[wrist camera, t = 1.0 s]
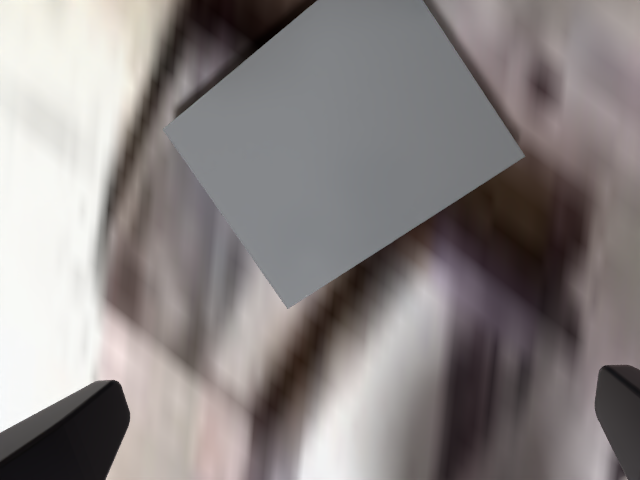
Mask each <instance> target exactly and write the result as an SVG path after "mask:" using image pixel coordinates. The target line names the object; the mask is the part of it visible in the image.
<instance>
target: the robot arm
mask: <svg viewBox="0 0 640 480" xmlns="http://www.w3.org/2000/svg"><path fill="white" fill-rule="evenodd" d="M595 411H596V415H597V418H598V420H599V422H600V424H601V426H602V428H603V430H604V432H605V434H606V437H607V439H608V441H609V443H610V445H611V447H612V449H613V451H614V453H615V455H616V457H617V459H618V461H619V463H620V465H621V467H622V469H623V471H624V473H625V475H626V477H627V479H628V480H640V370H639V369H637V368H635V367H633V366H630V365H606V366H603V367H602V368H601V369H600V371H599V374H598V382H597V390H596V397H595ZM129 422H130V411H129V408H128V405H127V402H126V399H125V396H124V393H123V390H122V387H121V384H120V383H119V382H118V381H115V380H104V381H96V382H94V383H92V384H90V385H88V386H86V387H84V388H82V389H81V390H79V391H77V392H75V393H73V394H71V395H69V396H68V397H66V398H64V399H62V400H60V401H58V402H56V403H55V404H53V405H51V406H49V407H47V408H45V409H44V410H42V411H40V412H38V413H36V414H34V415H32V416H31V417H29V418H27V419H25V420H23V421H21V422H19V423H18V424H16V425H14V426H12V427H10V428H8V429H6V430H5V431H3V432H1V433H0V480H106V477H107V475H108V473H109V470H110V468H111V466H112V463H113V461H114V459H115V456H116V454H117V452H118V449H119V447H120V445H121V442H122V440H123V438H124V435H125V433H126V431H127V428H128V426H129Z"/></svg>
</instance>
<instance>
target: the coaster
mask: <svg viewBox="0 0 640 480" xmlns="http://www.w3.org/2000/svg"><path fill="white" fill-rule="evenodd" d="M163 131H164V132H165V133H166V135H167V136H168V138H169V139H170V141H171V142H172V143H173V145H174V146H175V148H176V149H177V151H178V152H179V154H180V155H181V156H182V158H183V159H184V161H185V162H186V164H187V165H188V166H189V168H190V169H191V171H192V172H193V174H194V175H195V177H196V178H197V179H198V181H199V182H200V184H201V185H202V187H203V188H204V189H205V191H206V192H207V194H208V195H209V197H210V198H211V200H212V201H213V202H214V204H215V205H216V207H217V208H218V210H219V211H220V212H221V214H222V215H223V217H224V218H225V220H226V221H227V223H228V224H229V225H230V227H231V228H232V230H233V231H234V233H235V234H236V235H237V237H238V238H239V240H240V241H241V243H242V244H243V246H244V247H245V248H246V250H247V251H248V253H249V254H250V256H251V257H252V258H253V260H254V261H255V263H256V264H257V266H258V267H259V269H260V270H261V271H262V273H263V274H264V276H265V277H266V279H267V280H268V281H269V283H270V284H271V286H272V287H273V289H274V290H275V292H276V293H277V294H278V296H279V297H280V299H281V300H282V302H283V303H284V304H285V306H286V307H287V309H288V308H290V307H292V306H293V305H295V304H296V303H298V302H299V301H301V300H302V299H304V298H306V297H307V296H309V295H310V294H312V293H313V292H315V291H316V290H318V289H320V288H321V287H323V286H324V285H326V284H327V283H329V282H330V281H332V280H334V279H335V278H337V277H338V276H340V275H341V274H343V273H344V272H346V271H348V270H349V269H351V268H352V267H354V266H355V265H357V264H359V263H360V262H362V261H363V260H365V259H366V258H368V257H369V256H371V255H373V254H374V253H376V252H377V251H379V250H380V249H382V248H383V247H385V246H387V245H388V244H390V243H391V242H393V241H394V240H396V239H397V238H399V237H401V236H402V235H404V234H405V233H407V232H408V231H410V230H411V229H413V228H415V227H416V226H418V225H419V224H421V223H422V222H424V221H425V220H427V219H429V218H430V217H432V216H433V215H435V214H436V213H438V212H439V211H441V210H443V209H444V208H446V207H447V206H449V205H450V204H452V203H454V202H455V201H457V200H458V199H460V198H461V197H463V196H464V195H466V194H468V193H469V192H471V191H472V190H474V189H475V188H477V187H478V186H480V185H482V184H483V183H485V182H486V181H488V180H489V179H491V178H492V177H494V176H496V175H497V174H499V173H500V172H502V171H503V170H505V169H506V168H508V167H510V166H511V165H513V164H514V163H516V162H517V161H519V160H520V159H522V158H524V157H525V155H524V154H523V152H522V151H521V149H520V148H519V146H518V144H517V143H516V141H515V140H514V138H513V137H512V135H511V134H510V132H509V131H508V129H507V128H506V126H505V125H504V123H503V122H502V120H501V119H500V117H499V116H498V114H497V112H496V111H495V109H494V108H493V106H492V105H491V103H490V102H489V100H488V99H487V97H486V96H485V94H484V93H483V91H482V90H481V88H480V87H479V85H478V84H477V82H476V80H475V79H474V77H473V76H472V74H471V73H470V71H469V70H468V68H467V67H466V65H465V64H464V62H463V61H462V59H461V58H460V56H459V55H458V53H457V52H456V50H455V48H454V47H453V45H452V44H451V42H450V41H449V39H448V38H447V36H446V35H445V33H444V32H443V30H442V29H441V27H440V26H439V24H438V23H437V21H436V20H435V18H434V16H433V15H432V13H431V12H430V10H429V9H428V7H427V6H426V4H425V3H424V1H423V0H317V1H316V2H315V3H314V4H312V5H311V6H310V7H309V8H308V9H306V10H305V11H304V12H303V13H302V14H300V15H299V16H298V17H297V18H296V19H294V20H293V21H292V22H291V23H290V24H288V25H287V26H286V27H285V28H284V29H282V30H281V31H280V32H279V33H278V34H276V35H275V36H274V37H273V38H272V39H270V40H269V41H268V42H267V43H266V44H264V45H263V46H262V47H261V48H260V49H258V50H257V51H256V52H255V53H254V54H252V55H251V56H250V57H249V58H248V59H246V60H245V61H244V62H243V63H242V64H240V65H239V66H238V67H237V68H236V69H234V70H233V71H232V72H231V73H230V74H228V75H227V76H226V77H225V78H224V79H222V80H221V81H220V82H219V83H218V84H216V85H215V86H214V87H213V88H212V89H210V90H209V91H208V92H207V93H206V94H204V95H203V96H202V97H201V98H200V99H198V100H197V101H196V102H195V103H194V104H192V105H191V106H190V107H189V108H188V109H186V110H185V111H184V112H183V113H182V114H180V115H179V116H178V117H177V118H176V119H174V120H173V121H172V122H171V123H170V124H169V125H167V126H166V127H165V128H164V129H163Z"/></svg>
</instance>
